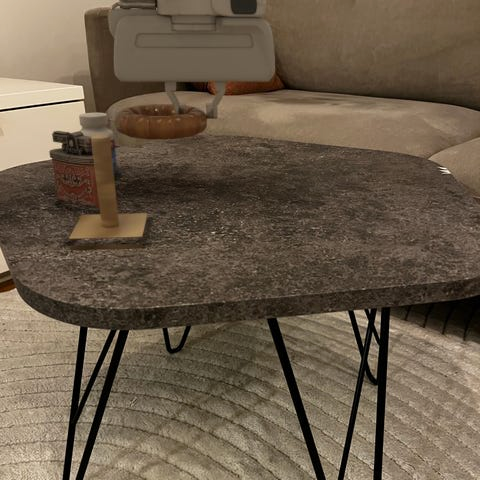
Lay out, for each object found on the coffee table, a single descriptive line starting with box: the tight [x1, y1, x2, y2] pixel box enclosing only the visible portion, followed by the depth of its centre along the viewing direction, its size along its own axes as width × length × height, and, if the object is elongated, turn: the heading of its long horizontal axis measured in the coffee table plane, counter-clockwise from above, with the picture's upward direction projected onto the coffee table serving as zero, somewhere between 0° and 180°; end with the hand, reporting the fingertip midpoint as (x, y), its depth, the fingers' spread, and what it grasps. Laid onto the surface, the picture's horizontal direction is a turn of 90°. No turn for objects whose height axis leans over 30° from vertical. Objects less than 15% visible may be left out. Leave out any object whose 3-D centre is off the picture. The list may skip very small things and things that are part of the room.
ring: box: [113, 103, 208, 140], centre depth 78 cm, size 12×12×3 cm
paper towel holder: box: [68, 134, 148, 251], centre depth 66 cm, size 8×8×12 cm
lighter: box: [48, 130, 99, 207], centre depth 76 cm, size 8×3×10 cm, turn 59°
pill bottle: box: [78, 112, 118, 175], centre depth 88 cm, size 6×5×10 cm
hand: (196, 118), depth 78 cm, fingers closed on ring, 3 cm apart
